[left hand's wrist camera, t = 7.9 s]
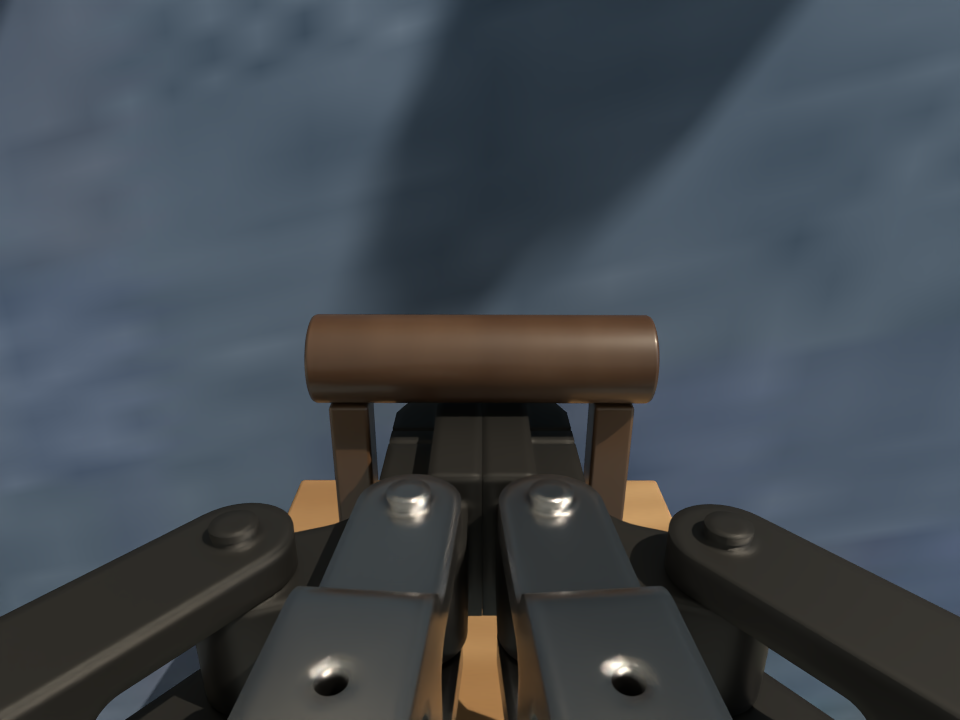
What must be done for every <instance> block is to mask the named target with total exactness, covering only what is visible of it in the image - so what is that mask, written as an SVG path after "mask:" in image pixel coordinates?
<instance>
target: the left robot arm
mask: <svg viewBox="0 0 960 720" xmlns="http://www.w3.org/2000/svg"><path fill="white" fill-rule="evenodd" d="M468 616H497V669H498V677H499V684H500V692H501V700H502V707H503V715H504V720H834V719H833V718H831V717H830V716H828V715H827V714H825V713H824V712H822V711H821V710H819V709H818V708H816V707H815V706H814V705H812V704H811V703H809V702H808V701H806V700H805V699H803V698H802V697H800V696H799V695H797V694H796V693H794V692H793V691H791V690H790V689H788V688H787V687H786V686H784V685H783V684H781V683H780V682H778V681H777V680H775V679H774V678H772V677H771V676H769V675H768V674H766V673H765V672H764V668H765V663H766V659H767V654H768V649H769V648H770V649H771V650H773V651H774V652H776V653H778V654H779V655H781V656H782V657H784V658H785V659H787V660H788V661H790V662H791V663H793V664H795V665H796V666H798V667H799V668H801V669H802V670H804V671H805V672H807V673H808V674H810V675H812V676H813V677H815V678H816V679H818V680H819V681H821V682H822V683H824V684H825V685H827V686H829V687H830V688H832V689H833V690H835V691H836V692H838V693H839V694H841V695H842V696H844V697H845V698H847V699H848V700H849V701H851V702H852V703H853V704H854V705H855V706H856V707H857V708H858V709H859V710H860V711H861V713H862V714H863V715H864V717H865V718H866V720H960V617H959V616H957V615H955V614H953V613H951V612H949V611H947V610H945V609H943V608H941V607H939V606H937V605H935V604H933V603H931V602H929V601H927V600H925V599H923V598H921V597H919V596H917V595H915V594H913V593H911V592H909V591H907V590H905V589H903V588H901V587H899V586H897V585H895V584H893V583H891V582H889V581H887V580H885V579H883V578H881V577H879V576H877V575H875V574H873V573H871V572H869V571H867V570H865V569H863V568H861V567H859V566H857V565H855V564H853V563H851V562H849V561H847V560H845V559H843V558H841V557H839V556H837V555H835V554H833V553H831V552H829V551H827V550H825V549H823V548H821V547H819V546H817V545H815V544H813V543H811V542H809V541H807V540H805V539H803V538H801V537H799V536H797V535H795V534H793V533H791V532H789V531H787V530H785V529H783V528H781V527H779V526H777V525H775V524H773V523H771V522H769V521H767V520H765V519H763V518H761V517H759V516H757V515H755V514H753V513H750V512H748V511H745V510H742V509H739V508H735V507H730V506H724V505H714V504H705V505H696V506H691V507H688V508H685V509H683V510H681V511H679V512H678V513H676V514H675V515H674V516H673V517H672V519H671V520H670V523H669V528H668V531H663V530H658V529H653V528H648V527H643V526H638V525H634V524H630V523H628V522H625V521H622V520H619V519H617V518H615V517H613V516H611V515H609V513H608V510H607V508H606V506H605V504H604V501H603V499H602V498H601V496H600V494H599V493H598V492H597V491H596V490H595V489H594V488H592V487H591V486H590V485H588V484H586V482H585V479H584V475H583V471H582V467H581V464H580V460H579V456H578V453H577V449H576V445H575V444H574V438H573V434H572V431H571V427H570V423H569V419H568V416H567V412H565V411H564V410H563V409H562V408H561V407H560V406H558V405H557V404H556V403H407V404H406V405H405V406H404V407H403V408H402V409H401V410H399V411H398V412H397V414H396V418H395V422H394V426H393V431H392V433H391V437H390V444H389V445H388V449H387V453H386V457H385V460H384V464H383V468H382V472H381V476H380V480H379V481H378V482H376V483H374V484H372V485H370V486H369V487H368V488H366V489H365V490H364V491H363V492H362V493H361V494H360V496H359V497H358V499H357V501H356V504H355V506H354V508H353V510H352V513H351V515H350V517H349V518H348V519H346V520H344V521H341V522H338V523H335V524H332V525H327V526H323V527H318V528H314V529H309V530H304V531H299V532H294V525H293V521H292V518H291V517H290V516H289V514H288V513H287V512H285V511H284V510H282V509H280V508H278V507H276V506H272V505H269V504H262V503H243V504H236V505H231V506H226V507H222V508H219V509H217V510H214V511H211V512H209V513H207V514H204V515H202V516H200V517H198V518H196V519H194V520H192V521H190V522H188V523H186V524H184V525H182V526H180V527H178V528H176V529H175V530H173V531H171V532H169V533H167V534H165V535H163V536H161V537H159V538H157V539H155V540H153V541H151V542H149V543H147V544H145V545H143V546H141V547H139V548H137V549H135V550H133V551H131V552H129V553H127V554H125V555H123V556H121V557H119V558H117V559H115V560H113V561H111V562H109V563H107V564H105V565H103V566H101V567H99V568H97V569H95V570H93V571H91V572H89V573H87V574H85V575H83V576H81V577H79V578H77V579H75V580H73V581H71V582H69V583H67V584H65V585H63V586H61V587H59V588H57V589H55V590H53V591H51V592H49V593H47V594H45V595H43V596H41V597H39V598H37V599H35V600H33V601H31V602H29V603H27V604H25V605H23V606H21V607H19V608H17V609H15V610H13V611H11V612H9V613H7V614H5V615H3V616H1V617H0V720H96V718H97V717H98V715H99V714H100V712H101V711H102V710H103V709H104V707H105V706H106V705H107V704H108V703H109V702H110V701H111V700H113V699H114V698H115V697H116V696H118V695H119V694H120V693H122V692H124V691H125V690H127V689H128V688H130V687H131V686H133V685H134V684H136V683H137V682H139V681H141V680H142V679H144V678H145V677H147V676H148V675H150V674H151V673H153V672H154V671H156V670H157V669H159V668H161V667H162V666H164V665H165V664H167V663H168V662H170V661H171V660H173V659H174V658H176V657H178V656H179V655H181V654H182V653H184V652H185V651H187V650H188V649H190V648H191V647H193V646H195V645H196V648H197V653H198V658H199V663H200V668H201V669H199V670H198V671H196V672H195V673H193V674H192V675H190V676H189V677H187V678H186V679H185V680H183V681H182V682H180V683H179V684H177V685H176V686H174V687H173V688H171V689H170V690H168V691H167V692H165V693H164V694H162V695H161V696H160V697H158V698H157V699H155V700H154V701H152V702H151V703H149V704H148V705H146V706H145V707H143V708H142V709H140V710H139V711H137V712H136V713H135V714H133V715H132V716H130V717H129V718H127V719H126V720H456V714H457V707H458V699H459V692H460V684H461V676H462V669H463V645H464V644H465V641H466V638H467V633H468Z"/></svg>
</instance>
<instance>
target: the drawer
mask: <svg viewBox="0 0 960 720" xmlns="http://www.w3.org/2000/svg"><path fill="white" fill-rule="evenodd" d="M304 363H305V377H306V384H307V388H308V391H309V394H310V397H311V399H312V400H313V401H315V402H317V403H331V405H330V408H329V415H330V426H331V437H332V448H333V459H334V470H335V480H304V481H302V482H301V484H300V486H299V488H298V491H297V493H296V495H295V498H294V500H293V502H292V505H291V507H290V509H289V512H288V514H289V516H290V517H291V518H292V521H293V525H294V532H299V531H304V530H309V529H314V528H318V527H323V526H327V525H332V524H335V523H338V522H341V521H344V520H346V519H348V518H349V517H350V515H351V513H352V510H353V508H354V506H355V504H356V501H357V499H358V497H359V496H360V494H361V493H362V492H363V491H364V490H365V489H366V488H368V487H369V486H370V485H372V484H374V483H376V482H378V481H379V480H378V468H377V452H376V436H375V420H374V404H373V403H589V410H588V423H587V436H586V449H585V463H584V479H585V482H586V484H588V485H590V486H591V487H592V488H594V489H595V490H596V491H597V492H598V493H599V494H600V496H601V498H602V499H603V501H604V504H605V506H606V508H607V510H608V513H609V515H611V516H613V517H615V518H617V519H619V520H622V521H625V522H628V523H630V524H634V525H638V526H643V527H648V528H653V529H658V530H663V531H668V528H669V523H670V520H671V519H672V517H671V515H670V512H669V510H668V508H667V506H666V503H665V501H664V499H663V496H662V494H661V492H660V490H659V487H658V485H657V483H656V482H655V481H627V474H628V464H629V454H630V445H631V435H632V426H633V416H634V407H633V405H632V403H648V402H650V401H651V400H652V398H653V396H654V394H655V390H656V387H657V382H658V375H659V343H658V336H657V331H656V328H655V324H654V322H653V320H652V319H651V317H649V316H647V315H399V314H317V315H315V316H313V317H312V318H311V320H310V323H309V326H308V329H307V334H306V340H305V354H304ZM456 720H504V715H503V707H502V700H501V692H500V684H499V677H498V669H497V616H468V633H467V638H466V641H465V644H464V645H463V669H462V676H461V684H460V692H459V699H458V707H457V714H456Z"/></svg>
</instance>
